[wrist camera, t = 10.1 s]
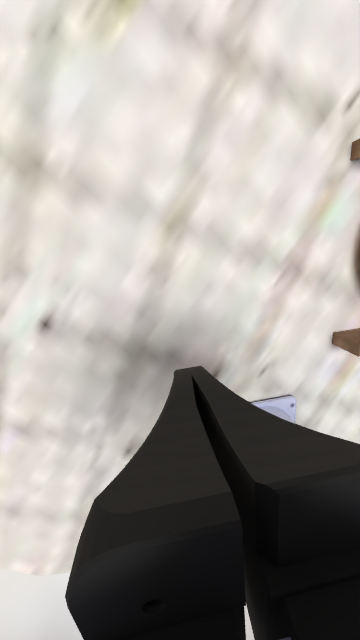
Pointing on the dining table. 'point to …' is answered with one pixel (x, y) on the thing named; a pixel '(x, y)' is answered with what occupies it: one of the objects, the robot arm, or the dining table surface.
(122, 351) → the dining table surface
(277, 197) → the dining table surface
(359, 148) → the walnut frame
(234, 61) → the dining table surface
